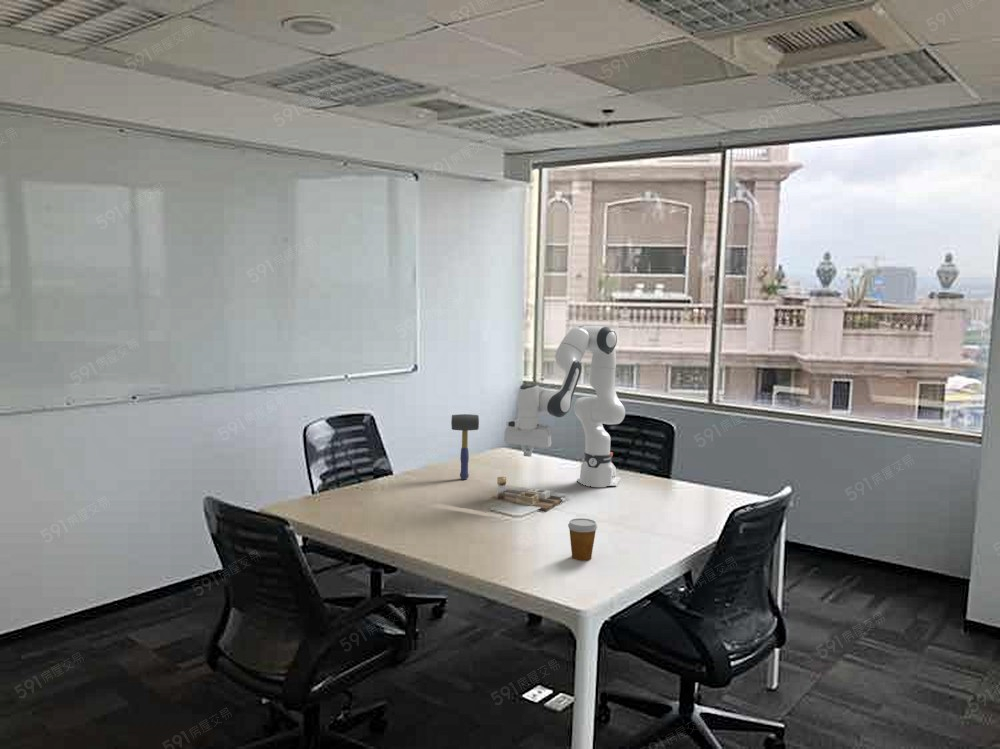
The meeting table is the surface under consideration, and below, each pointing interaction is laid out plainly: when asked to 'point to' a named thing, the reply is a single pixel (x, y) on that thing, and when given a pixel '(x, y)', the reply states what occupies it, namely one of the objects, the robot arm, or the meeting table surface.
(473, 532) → the meeting table surface
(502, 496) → the grey and tan cylinder
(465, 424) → the rubber mallet
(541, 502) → the board
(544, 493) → the block
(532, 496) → the socket
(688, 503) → the meeting table surface
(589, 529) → the disposable coffee cup
